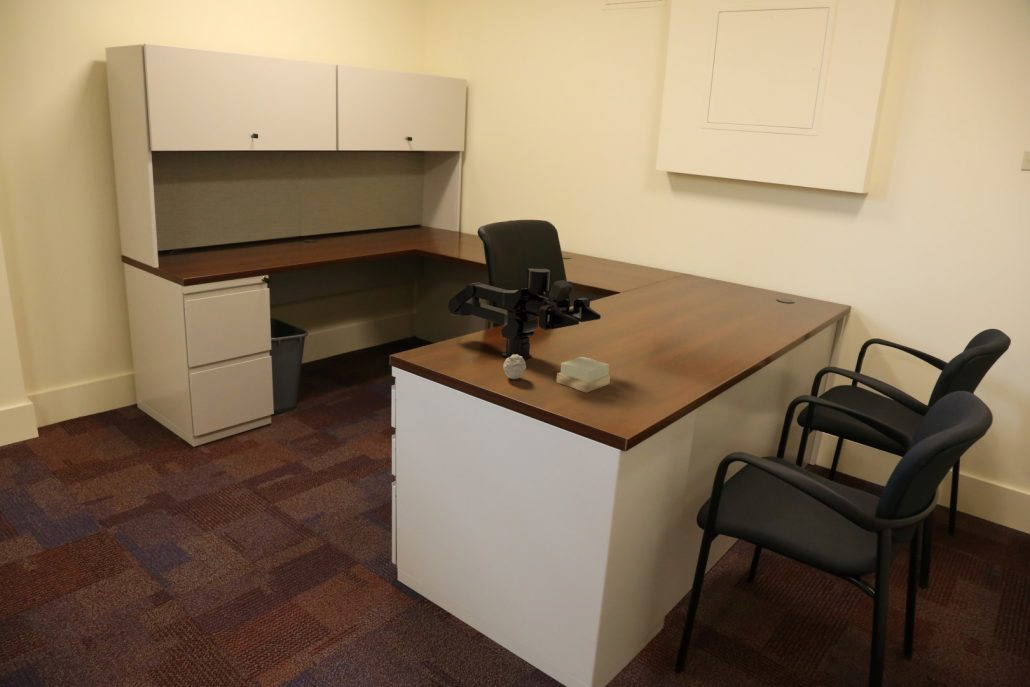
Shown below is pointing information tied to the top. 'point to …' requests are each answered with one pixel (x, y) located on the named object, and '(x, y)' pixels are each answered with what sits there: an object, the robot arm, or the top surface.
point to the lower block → (581, 384)
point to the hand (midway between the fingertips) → (589, 319)
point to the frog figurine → (514, 366)
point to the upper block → (584, 369)
